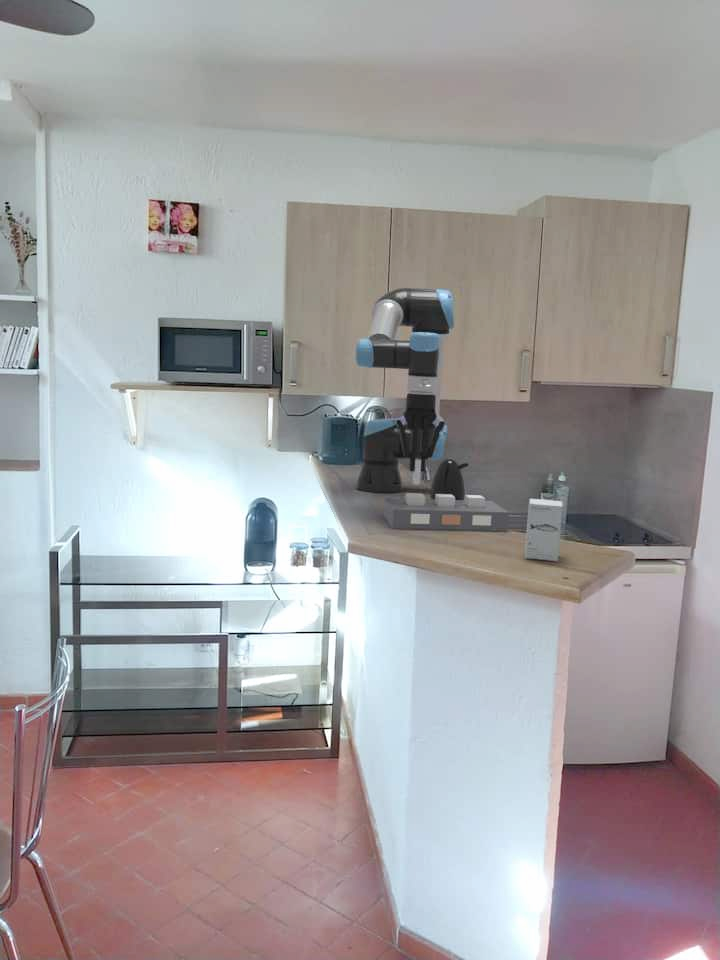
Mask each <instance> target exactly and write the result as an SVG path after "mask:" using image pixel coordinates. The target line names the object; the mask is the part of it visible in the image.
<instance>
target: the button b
mask: <svg viewBox="0 0 720 960" xmlns="http://www.w3.org/2000/svg"><path fill="white" fill-rule="evenodd" d="M435 505H436V506H437V507H455V497H454V496H453V495H451V494H435Z"/></svg>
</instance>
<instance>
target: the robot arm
mask: <svg viewBox="0 0 720 960" xmlns="http://www.w3.org/2000/svg"><path fill="white" fill-rule="evenodd" d="M453 305H454V304H453V294H452V292H451V291H450V290H448V289H447V290H446V289H439V288H408V287H401V288H396V289H393V290H391V291H389V292H387V293H385V294H384V295H382V296H381V297H380V298H378V300H376V302H375V303H374V305H373V308H372V311H371V318H372V323H371V326H370V329H369V333H368V336H367V337H366V338H360V339H358V340H357V342H356V348H355V350H356V351H355V362H356V365H357V366H358V367H365V368H369V369H370V368H371V369H372V368H375V369H376V368H380V369H398V370H399V369H403V370H408V373H407V384H406V385H407V387H406V391H407V392H408V393H407V394H406V405H405V411H404V412H403V416H401V417H399V418H398V417H397V418H395V417H393V418H392V417H390V418H379V419H378V418H377V419H373V420H372V419H371V420H368V421H366V423H365V426H364V433H363V438H364V439H363V440H364V441H363V456H362V459H363V460H362V466H361V469H360V472H359V474H358V477H357V479H356V489H357V490H360V491H363V492H370V493H381V494H382V493H386V494H387V493H388V494H389V493H399V492H402V491H403V480H402V477H401V472H400V469H399V459H400V460H403V459H405V460H409V468H408V469H409V472H412V484H413V485H415V486H416V485H420V484H421V472H425V470H426V468H425V466H426V462H428V461H439V460H440V459H441V458H442V457H443V454H444V448H445V444H446V438H447V433H448V425H446V423H445V421H444V418H443V417H442V416H441V415H440V407H441V406H440V404H441V388H442V371H443V360H444V359H443V357H444V341H445V339H446V337H448V336H449V335H450V330H452V329H454V328H455V322H454V321H455V319H454V306H453ZM399 327H409V328H410V327H411V334H410V337H409V340H397V339H396V337H397V336H396V335H397V331H398V328H399Z"/></svg>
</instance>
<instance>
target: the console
mask: <svg viewBox="0 0 720 960" xmlns="http://www.w3.org/2000/svg"><path fill="white" fill-rule="evenodd" d="M383 498H384V499H383V513H382V515H383V518H384V519H385V521H386V522H387V523H388V525H389V527H390V528H391V529H392V530H426V531H431V530H432V531H435V530H436V531H440V530H441V531H473V532H474V531H475V532H499V531H498V530H501V531H500V532H508V528H509V526H508V525H509V516H510V515H509V513H510V512H509V511H508V510H506V509H504V508H503V507H501V506H500V505H499V504H497V503H495V502H494V501H492V500H485V508H470V507H466V506H465V505H464V500H455V507H437V506H436V505H435V499H431V498H425V506H407V505H406V504H405V498H393V497H389V498H388V497H383ZM494 529H495V530H494Z"/></svg>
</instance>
